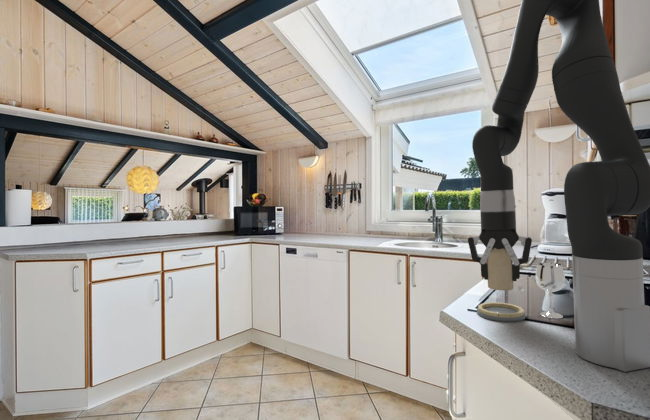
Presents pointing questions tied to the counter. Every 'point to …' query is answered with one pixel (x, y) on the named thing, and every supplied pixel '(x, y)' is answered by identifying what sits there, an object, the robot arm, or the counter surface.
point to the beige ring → (501, 312)
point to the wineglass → (550, 283)
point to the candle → (500, 270)
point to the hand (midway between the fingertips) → (500, 279)
